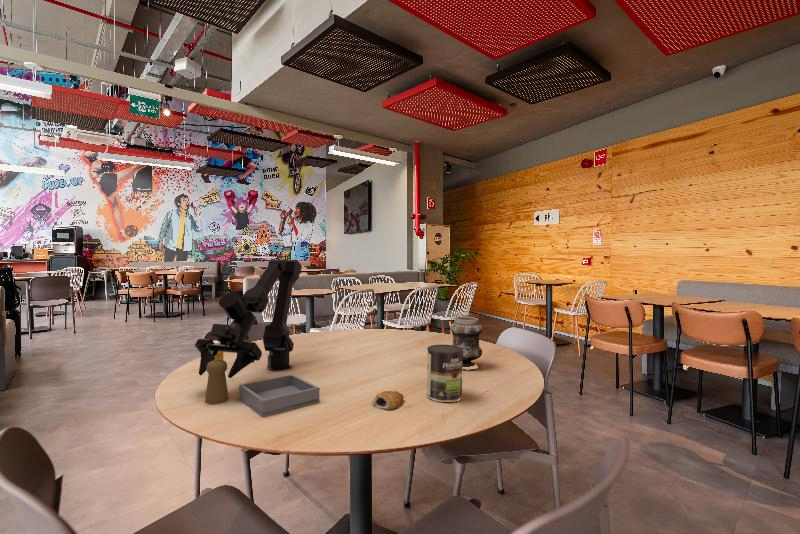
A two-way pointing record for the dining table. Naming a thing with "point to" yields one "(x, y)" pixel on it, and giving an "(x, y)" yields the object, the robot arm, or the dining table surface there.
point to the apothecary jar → (467, 338)
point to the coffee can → (444, 373)
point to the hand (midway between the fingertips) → (214, 376)
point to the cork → (216, 383)
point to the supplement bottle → (219, 354)
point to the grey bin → (278, 394)
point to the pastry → (388, 400)
